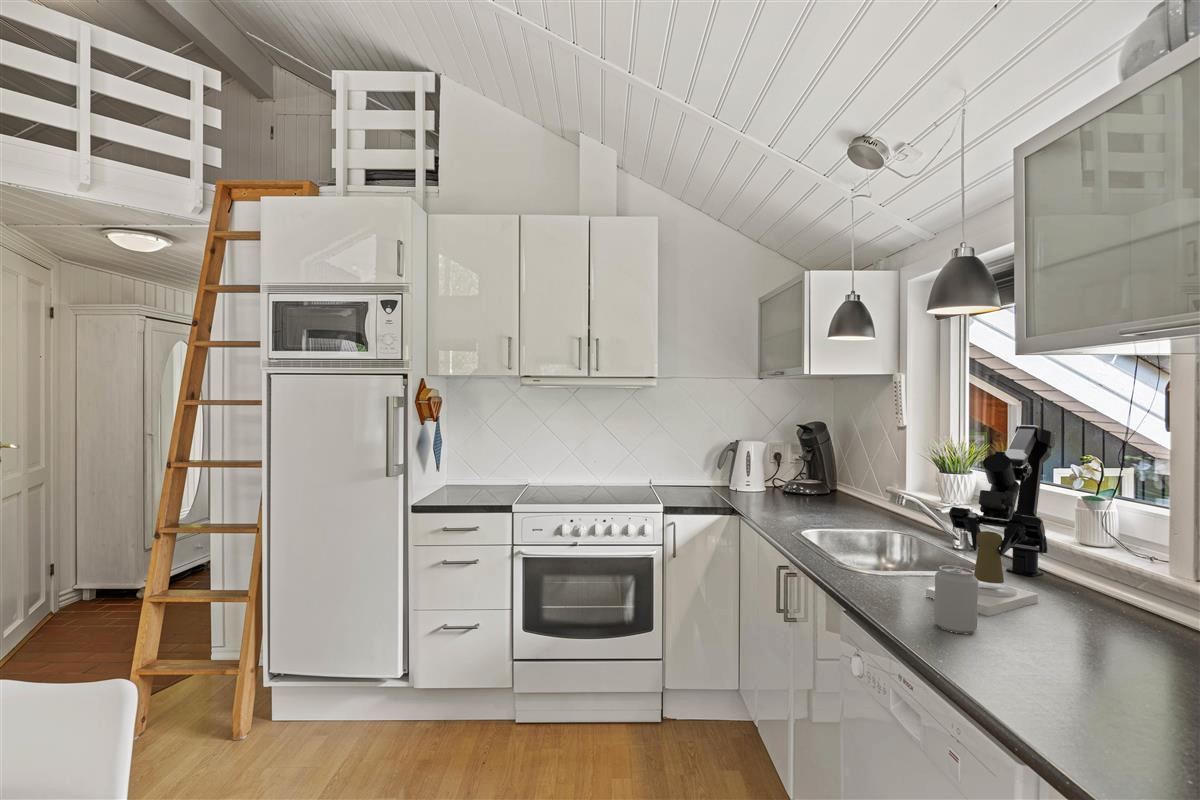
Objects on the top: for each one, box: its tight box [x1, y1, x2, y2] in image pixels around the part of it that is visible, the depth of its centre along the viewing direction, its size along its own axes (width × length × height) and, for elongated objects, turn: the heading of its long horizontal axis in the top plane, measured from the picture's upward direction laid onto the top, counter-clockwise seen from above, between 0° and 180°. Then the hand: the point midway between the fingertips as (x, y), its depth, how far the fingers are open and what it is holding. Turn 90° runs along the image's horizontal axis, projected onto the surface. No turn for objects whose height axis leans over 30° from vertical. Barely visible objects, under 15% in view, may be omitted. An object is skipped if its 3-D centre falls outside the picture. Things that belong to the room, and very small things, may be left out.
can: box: [933, 565, 978, 634], centre depth 125 cm, size 8×8×12 cm
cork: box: [973, 530, 1005, 584], centre depth 144 cm, size 6×6×11 cm
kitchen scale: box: [925, 581, 1039, 617], centre depth 143 cm, size 20×14×3 cm
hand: (987, 552), depth 143 cm, fingers closed on cork, 5 cm apart
